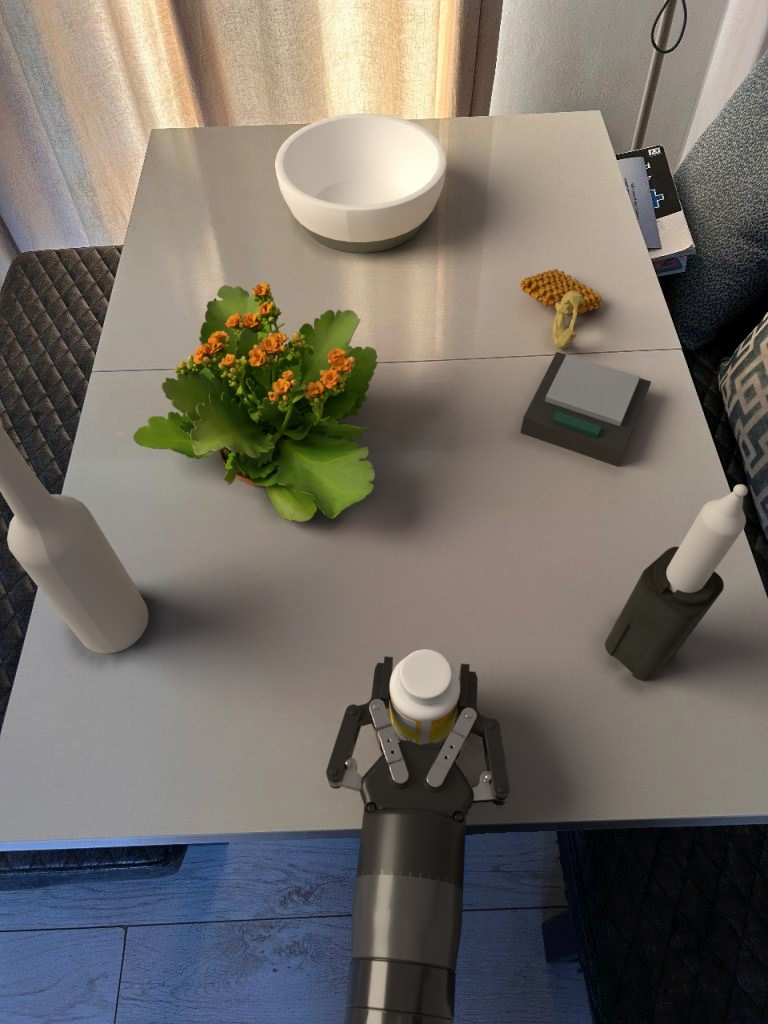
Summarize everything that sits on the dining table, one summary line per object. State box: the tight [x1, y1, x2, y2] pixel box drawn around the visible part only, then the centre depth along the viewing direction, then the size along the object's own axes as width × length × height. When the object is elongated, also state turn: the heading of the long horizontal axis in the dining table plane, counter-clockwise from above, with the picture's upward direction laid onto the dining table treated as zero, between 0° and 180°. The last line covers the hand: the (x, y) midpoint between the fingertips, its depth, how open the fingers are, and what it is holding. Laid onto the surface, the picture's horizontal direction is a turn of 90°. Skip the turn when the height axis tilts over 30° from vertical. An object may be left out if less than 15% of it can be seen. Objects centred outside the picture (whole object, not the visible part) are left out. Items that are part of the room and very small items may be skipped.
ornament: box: [519, 268, 602, 349], centre depth 92 cm, size 7×10×15 cm
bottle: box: [0, 417, 150, 655], centre depth 60 cm, size 7×7×28 cm
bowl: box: [274, 112, 448, 254], centre depth 103 cm, size 22×22×8 cm
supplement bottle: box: [389, 648, 460, 745], centre depth 62 cm, size 6×6×10 cm
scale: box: [520, 351, 652, 467], centre depth 84 cm, size 11×11×3 cm
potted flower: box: [132, 281, 378, 523], centre depth 76 cm, size 25×24×18 cm
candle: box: [604, 483, 749, 682], centre depth 59 cm, size 5×5×25 cm
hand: (426, 664), depth 63 cm, fingers closed on supplement bottle, 5 cm apart
